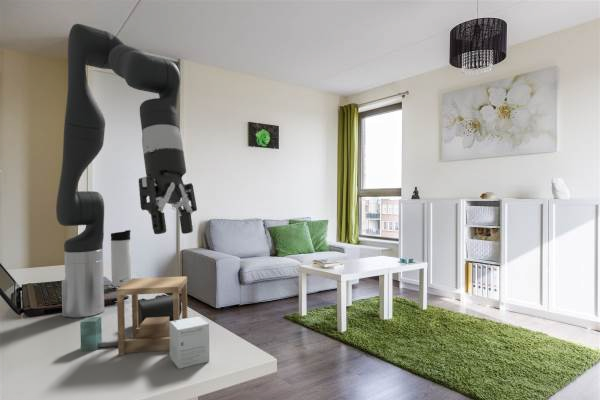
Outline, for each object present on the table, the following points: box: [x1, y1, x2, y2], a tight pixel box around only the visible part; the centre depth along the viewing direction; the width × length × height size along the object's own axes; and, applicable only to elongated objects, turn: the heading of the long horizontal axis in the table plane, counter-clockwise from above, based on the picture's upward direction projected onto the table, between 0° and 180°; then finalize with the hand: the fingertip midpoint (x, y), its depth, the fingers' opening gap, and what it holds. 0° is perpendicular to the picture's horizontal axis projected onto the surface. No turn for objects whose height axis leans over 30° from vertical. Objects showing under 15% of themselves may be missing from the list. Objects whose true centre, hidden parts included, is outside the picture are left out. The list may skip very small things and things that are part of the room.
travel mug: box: [110, 229, 132, 288], centre depth 137 cm, size 6×7×20 cm
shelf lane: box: [115, 275, 189, 356], centre depth 84 cm, size 12×10×13 cm
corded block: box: [79, 316, 170, 352], centre depth 83 cm, size 17×5×6 cm, turn 96°
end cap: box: [138, 293, 182, 328], centre depth 97 cm, size 10×7×7 cm
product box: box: [169, 316, 210, 370], centre depth 76 cm, size 6×6×7 cm
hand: (174, 233), depth 75 cm, fingers open, 8 cm apart
